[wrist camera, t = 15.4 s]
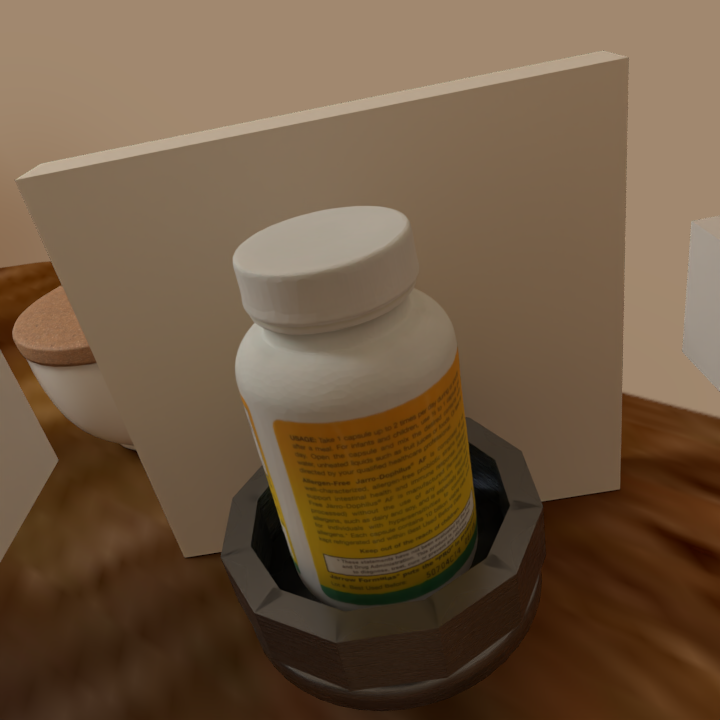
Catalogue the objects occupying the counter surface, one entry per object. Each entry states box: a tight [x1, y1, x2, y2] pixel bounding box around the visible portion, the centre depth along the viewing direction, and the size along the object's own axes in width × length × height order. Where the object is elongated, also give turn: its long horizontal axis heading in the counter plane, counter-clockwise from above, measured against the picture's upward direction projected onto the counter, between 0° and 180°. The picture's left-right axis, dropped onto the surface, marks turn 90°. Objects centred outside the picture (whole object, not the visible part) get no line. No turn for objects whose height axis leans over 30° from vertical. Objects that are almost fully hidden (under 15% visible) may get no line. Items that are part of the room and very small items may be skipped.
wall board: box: [15, 50, 629, 558], centre depth 24 cm, size 2×18×16 cm, turn 92°
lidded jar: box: [12, 286, 136, 450], centre depth 35 cm, size 11×11×9 cm
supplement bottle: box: [233, 206, 478, 612], centre depth 17 cm, size 5×5×10 cm
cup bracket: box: [221, 417, 546, 711], centre depth 20 cm, size 10×9×5 cm
